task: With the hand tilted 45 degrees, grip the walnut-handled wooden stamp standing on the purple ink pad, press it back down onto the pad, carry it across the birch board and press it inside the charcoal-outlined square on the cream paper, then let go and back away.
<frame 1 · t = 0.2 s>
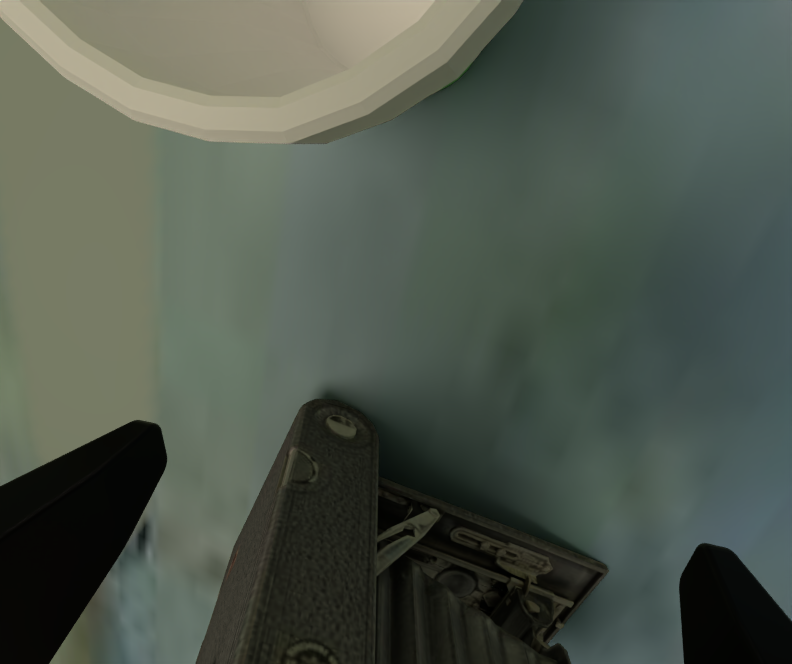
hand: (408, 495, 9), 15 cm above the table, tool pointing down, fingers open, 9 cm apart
camera: (432, 527, 28), on the table
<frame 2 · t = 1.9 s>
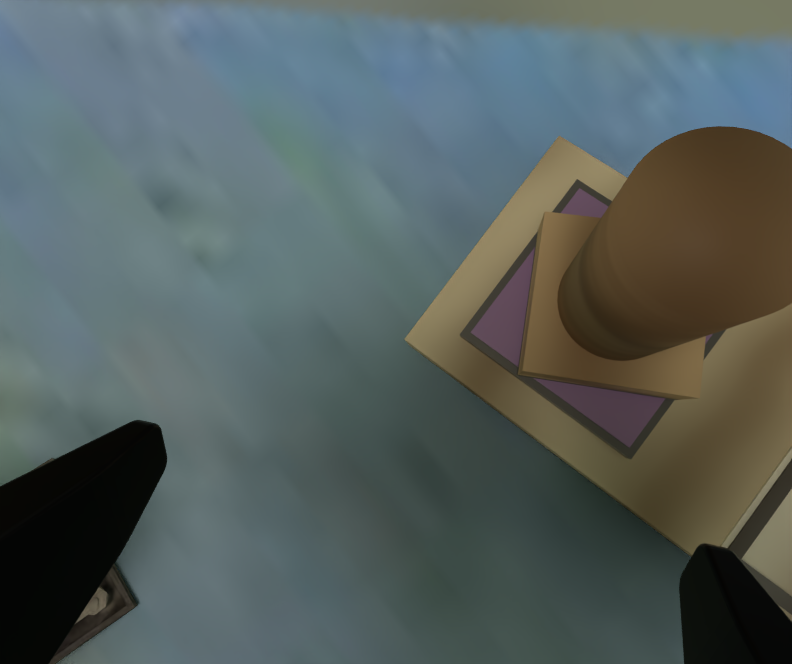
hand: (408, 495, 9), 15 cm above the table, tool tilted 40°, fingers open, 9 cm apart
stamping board: (727, 420, 22), on the table
ink pad: (599, 316, 22), resting on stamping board
stamp: (603, 312, 21), point 3 cm above the table, touching ink pad
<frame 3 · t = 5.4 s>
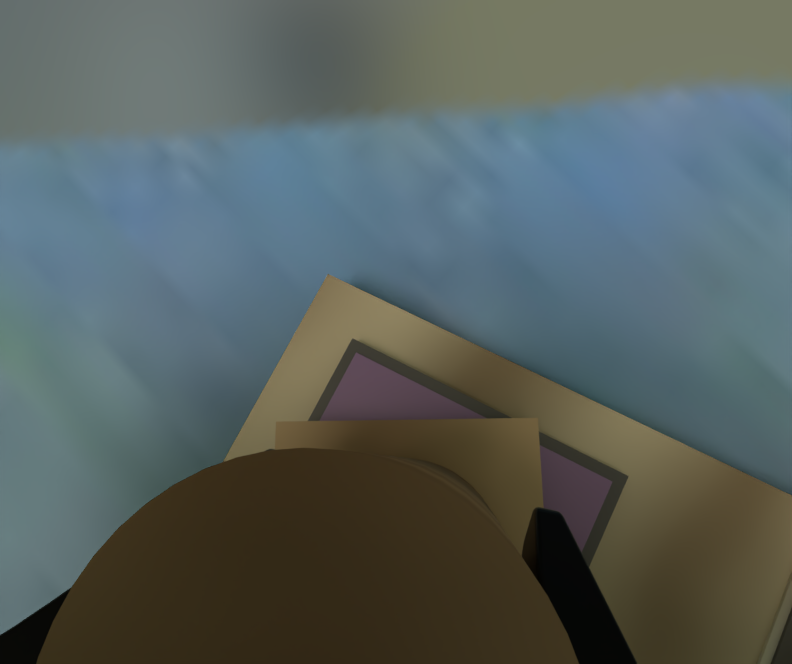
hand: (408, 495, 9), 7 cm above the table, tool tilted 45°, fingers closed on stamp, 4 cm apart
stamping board: (641, 655, 15), on the table
ink pad: (415, 540, 14), resting on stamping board
stamp: (413, 544, 13), point 3 cm above the table, touching gripper, ink pad
when the fingers open (7 cm above the table, at t = 12.5 s): stamp stays where it is, resting on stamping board.
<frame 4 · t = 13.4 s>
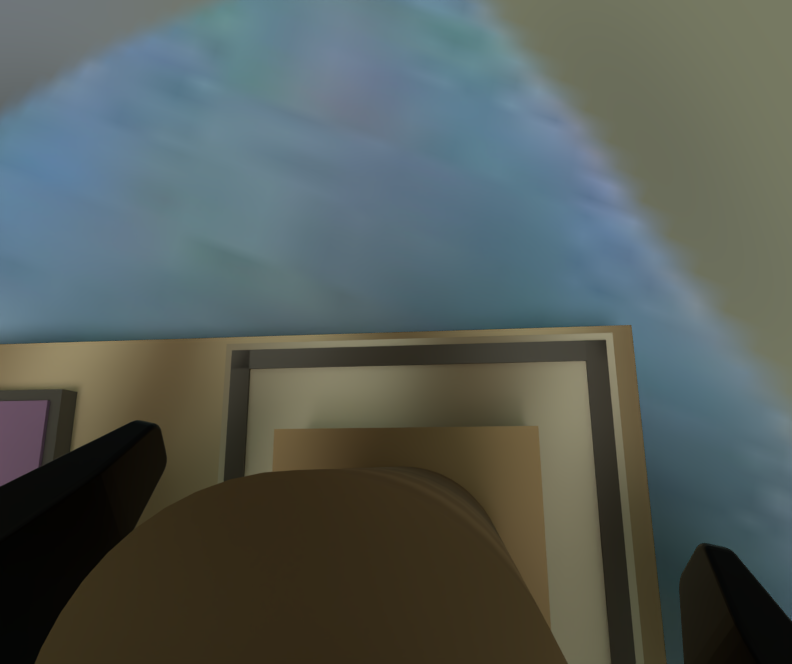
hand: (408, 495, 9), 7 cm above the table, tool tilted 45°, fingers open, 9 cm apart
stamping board: (194, 531, 16), on the table
stamp: (413, 552, 13), point 2 cm above the table, touching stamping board
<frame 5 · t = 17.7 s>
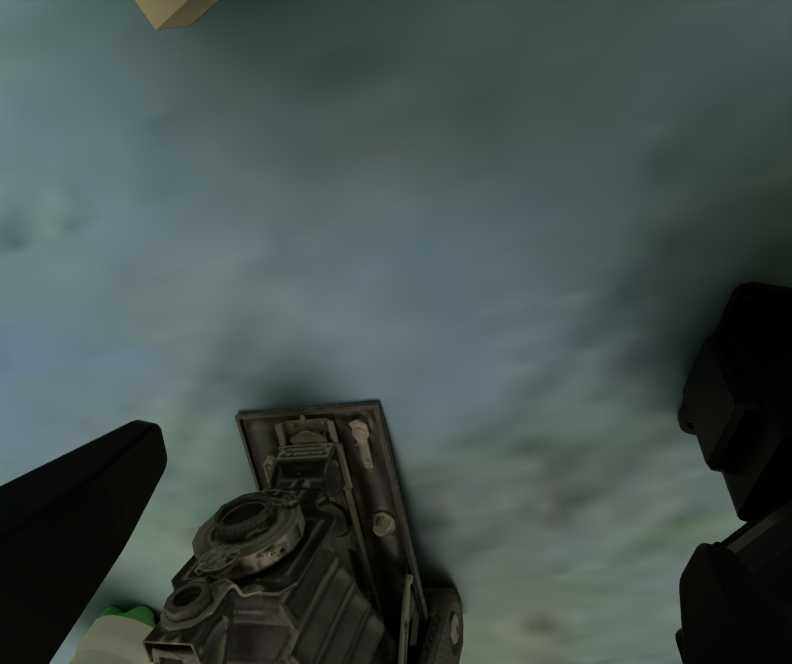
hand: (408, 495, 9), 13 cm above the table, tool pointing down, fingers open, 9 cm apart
camera: (343, 515, 31), on the table
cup: (151, 628, 43), on the table
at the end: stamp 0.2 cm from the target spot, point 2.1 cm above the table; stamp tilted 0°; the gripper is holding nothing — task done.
